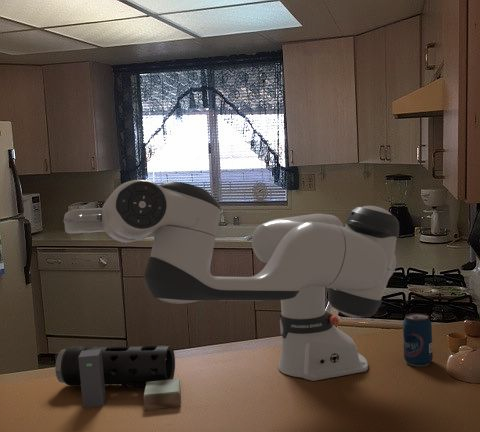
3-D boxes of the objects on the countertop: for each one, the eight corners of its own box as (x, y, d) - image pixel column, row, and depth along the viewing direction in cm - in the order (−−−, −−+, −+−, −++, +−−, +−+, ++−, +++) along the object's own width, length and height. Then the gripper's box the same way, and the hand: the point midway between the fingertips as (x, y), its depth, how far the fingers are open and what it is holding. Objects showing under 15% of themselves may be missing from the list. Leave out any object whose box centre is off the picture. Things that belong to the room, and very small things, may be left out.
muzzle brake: (167, 394, 137) (163, 352, 136) (55, 395, 142) (51, 354, 140) (177, 379, 147) (173, 339, 146) (72, 380, 151) (68, 341, 150)
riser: (180, 392, 138) (179, 378, 137) (180, 406, 130) (179, 391, 129) (146, 395, 137) (145, 381, 137) (144, 410, 129) (143, 395, 129)
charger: (106, 397, 138) (101, 348, 137) (103, 406, 133) (98, 355, 131) (86, 399, 137) (82, 349, 136) (83, 408, 132) (78, 357, 131)
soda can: (399, 364, 146) (397, 317, 145) (411, 355, 152) (409, 311, 150) (426, 369, 142) (424, 321, 141) (437, 360, 147) (435, 314, 146)
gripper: (64, 238, 95) (62, 243, 108) (187, 230, 101) (171, 236, 114) (62, 200, 95) (60, 209, 108) (184, 195, 102) (168, 204, 115)
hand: (118, 223), depth 111 cm, fingers open, 8 cm apart
